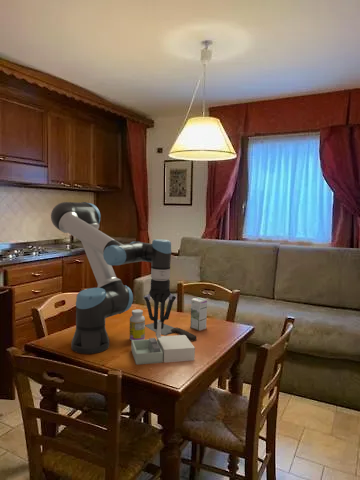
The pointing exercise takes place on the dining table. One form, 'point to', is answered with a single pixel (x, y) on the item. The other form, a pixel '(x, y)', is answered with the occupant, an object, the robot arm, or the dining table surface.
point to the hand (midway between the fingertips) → (158, 336)
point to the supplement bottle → (137, 325)
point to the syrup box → (198, 313)
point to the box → (145, 353)
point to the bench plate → (176, 348)
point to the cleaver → (172, 331)
